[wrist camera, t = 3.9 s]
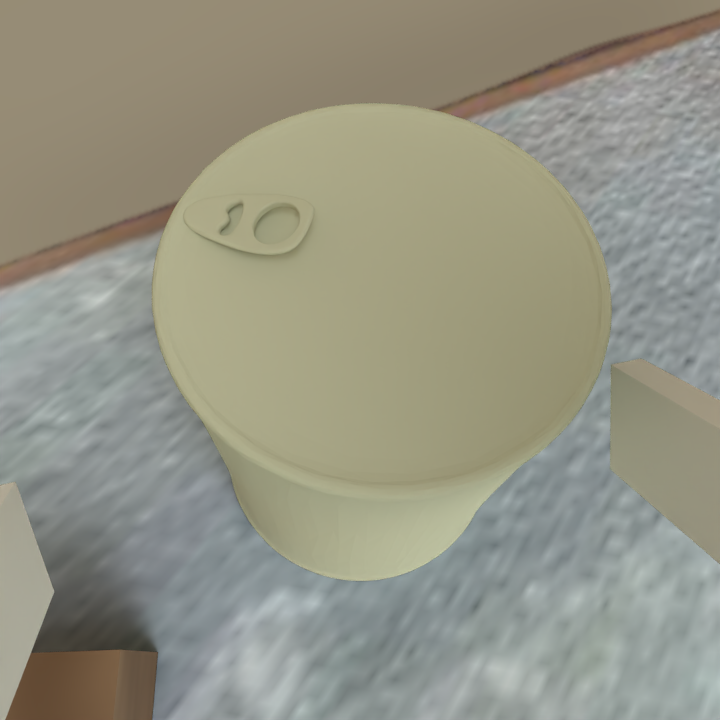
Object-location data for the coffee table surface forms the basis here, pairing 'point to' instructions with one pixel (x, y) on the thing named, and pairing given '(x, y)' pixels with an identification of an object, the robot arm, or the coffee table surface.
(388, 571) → the can
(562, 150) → the coffee table surface
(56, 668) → the plinth
